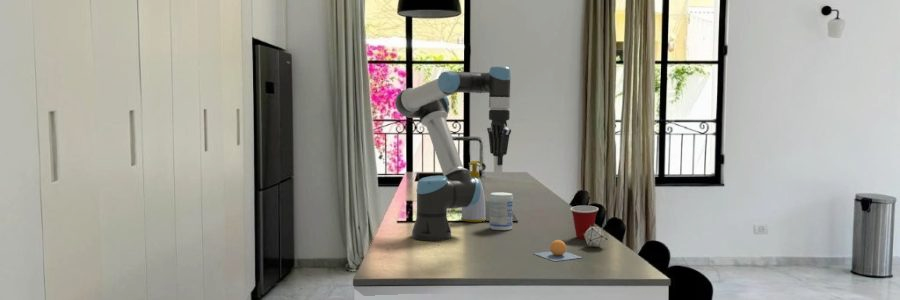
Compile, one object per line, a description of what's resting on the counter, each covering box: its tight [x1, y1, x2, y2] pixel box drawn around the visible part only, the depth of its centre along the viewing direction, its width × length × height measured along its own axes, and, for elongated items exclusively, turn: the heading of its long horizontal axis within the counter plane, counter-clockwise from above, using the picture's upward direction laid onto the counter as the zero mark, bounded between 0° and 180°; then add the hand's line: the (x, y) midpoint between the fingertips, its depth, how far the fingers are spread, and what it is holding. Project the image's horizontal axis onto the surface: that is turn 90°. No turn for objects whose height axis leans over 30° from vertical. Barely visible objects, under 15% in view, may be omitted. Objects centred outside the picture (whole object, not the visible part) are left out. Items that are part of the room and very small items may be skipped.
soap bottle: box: [460, 160, 487, 223], centre depth 299 cm, size 11×12×26 cm
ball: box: [549, 239, 567, 256], centre depth 234 cm, size 6×6×6 cm
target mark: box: [532, 251, 583, 262], centre depth 234 cm, size 12×12×1 cm
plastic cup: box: [570, 205, 599, 240], centre depth 265 cm, size 11×11×12 cm
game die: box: [582, 225, 609, 249], centre depth 249 cm, size 9×8×10 cm
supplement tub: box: [489, 191, 514, 231], centre depth 281 cm, size 10×10×15 cm
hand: (497, 173), depth 249 cm, fingers closed
